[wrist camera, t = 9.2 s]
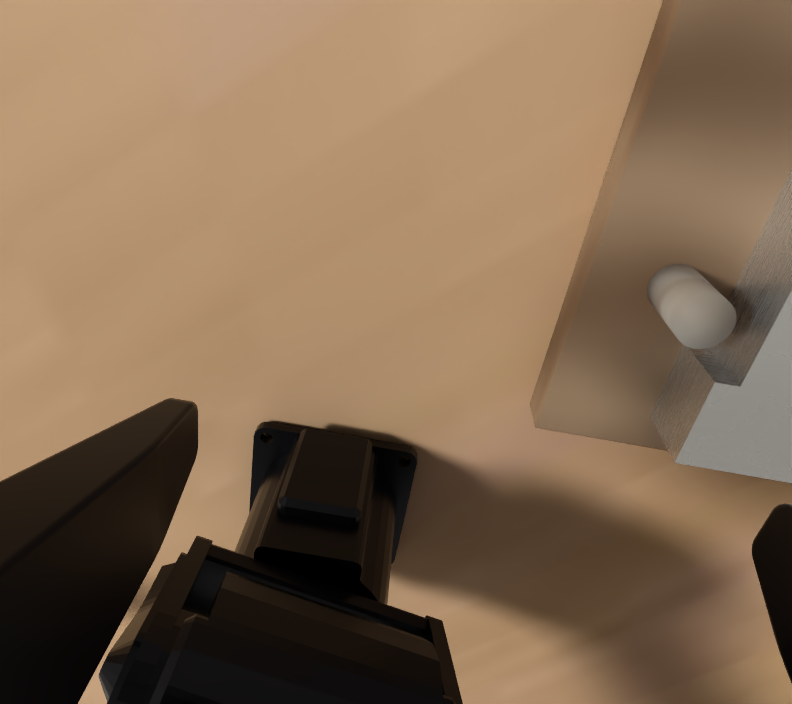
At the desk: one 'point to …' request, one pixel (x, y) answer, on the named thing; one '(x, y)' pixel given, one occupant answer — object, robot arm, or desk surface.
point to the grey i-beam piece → (741, 371)
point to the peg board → (673, 215)
